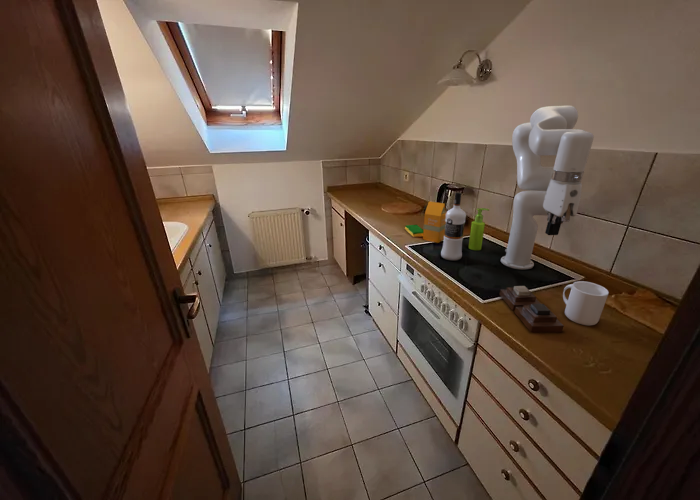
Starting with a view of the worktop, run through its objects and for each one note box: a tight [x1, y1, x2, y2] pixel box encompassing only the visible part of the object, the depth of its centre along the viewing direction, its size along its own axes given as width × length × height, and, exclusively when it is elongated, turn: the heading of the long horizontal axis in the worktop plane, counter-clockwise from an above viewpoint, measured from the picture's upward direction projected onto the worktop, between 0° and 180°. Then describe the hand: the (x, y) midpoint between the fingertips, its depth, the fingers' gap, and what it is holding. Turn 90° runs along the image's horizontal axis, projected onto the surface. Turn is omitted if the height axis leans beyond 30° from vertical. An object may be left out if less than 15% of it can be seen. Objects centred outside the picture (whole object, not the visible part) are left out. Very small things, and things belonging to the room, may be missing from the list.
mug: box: [562, 280, 610, 326], centre depth 93 cm, size 9×12×11 cm
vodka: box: [440, 191, 467, 262], centre depth 132 cm, size 9×9×30 cm
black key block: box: [514, 305, 565, 333], centre depth 91 cm, size 10×9×4 cm
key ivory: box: [513, 285, 531, 295], centre depth 100 cm, size 4×4×2 cm
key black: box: [530, 303, 551, 315], centre depth 90 cm, size 4×4×2 cm
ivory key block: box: [498, 286, 542, 312], centre depth 101 cm, size 10×9×4 cm
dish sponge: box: [404, 224, 424, 238], centre depth 169 cm, size 7×14×2 cm, turn 9°
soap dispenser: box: [467, 207, 490, 251], centre depth 142 cm, size 6×7×20 cm
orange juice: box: [422, 201, 447, 244], centre depth 155 cm, size 8×9×20 cm
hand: (551, 234), depth 95 cm, fingers closed
